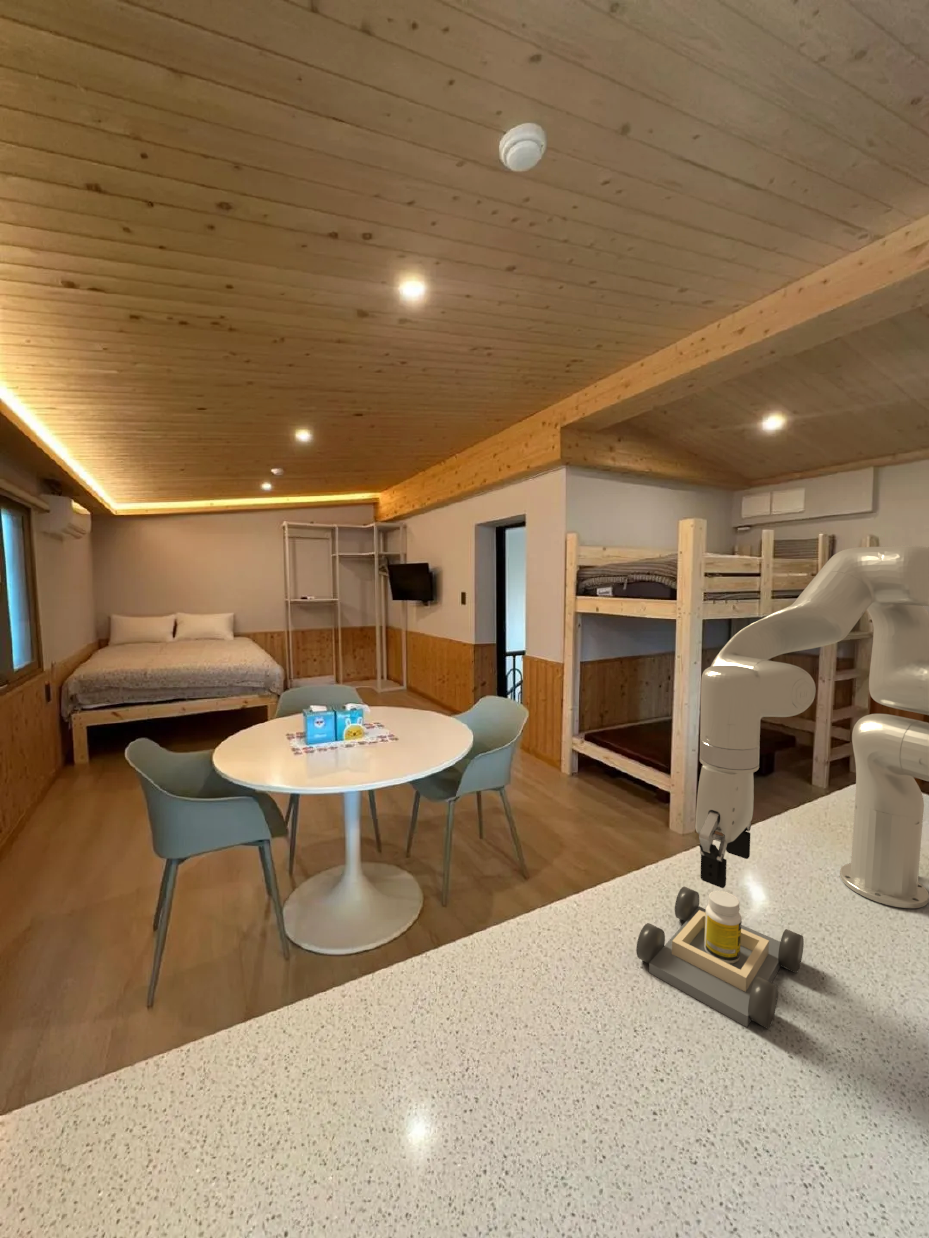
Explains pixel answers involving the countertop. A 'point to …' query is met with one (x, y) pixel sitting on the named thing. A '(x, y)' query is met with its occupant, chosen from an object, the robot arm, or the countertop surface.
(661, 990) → the countertop surface
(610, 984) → the countertop surface
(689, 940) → the toy chassis
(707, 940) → the supplement bottle
